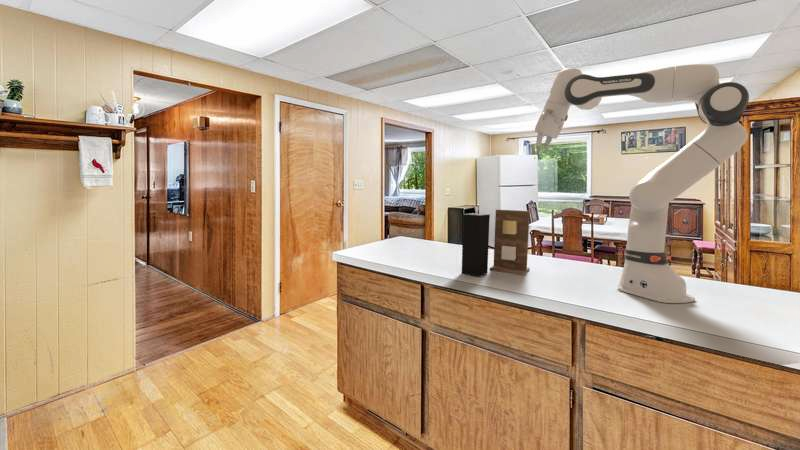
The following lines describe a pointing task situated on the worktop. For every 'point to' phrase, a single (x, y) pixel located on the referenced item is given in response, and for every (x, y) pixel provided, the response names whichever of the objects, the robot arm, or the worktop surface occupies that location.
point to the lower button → (508, 253)
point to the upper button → (509, 227)
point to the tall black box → (475, 243)
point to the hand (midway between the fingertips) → (541, 146)
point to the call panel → (511, 242)
